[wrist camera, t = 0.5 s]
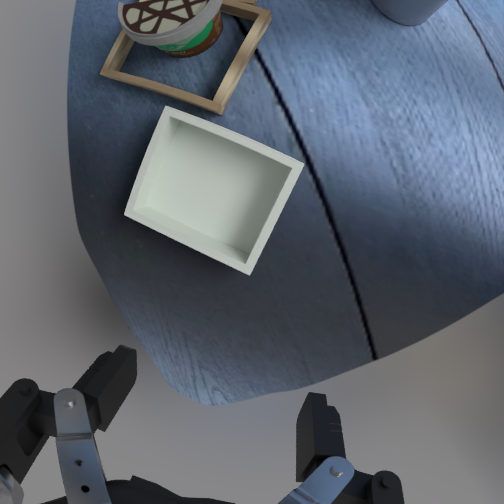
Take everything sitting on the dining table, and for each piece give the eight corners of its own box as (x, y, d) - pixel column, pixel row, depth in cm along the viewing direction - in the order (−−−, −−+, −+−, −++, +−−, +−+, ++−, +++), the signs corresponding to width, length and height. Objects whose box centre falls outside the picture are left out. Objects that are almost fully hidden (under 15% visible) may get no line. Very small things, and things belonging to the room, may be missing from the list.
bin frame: (157, -6, 30) (149, -15, 27) (271, 20, 30) (270, 10, 28) (110, 78, 34) (99, 74, 31) (221, 115, 35) (216, 111, 32)
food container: (140, 67, 34) (103, 46, 24) (148, 30, 32) (115, 2, 22) (228, 65, 33) (210, 36, 23) (234, 26, 31) (220, -11, 22)
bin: (178, 111, 35) (165, 105, 31) (301, 164, 36) (304, 163, 31) (139, 209, 39) (123, 214, 35) (253, 263, 40) (249, 275, 35)
